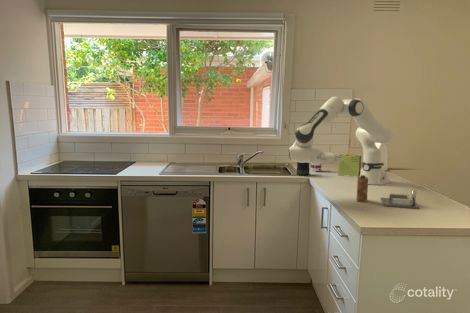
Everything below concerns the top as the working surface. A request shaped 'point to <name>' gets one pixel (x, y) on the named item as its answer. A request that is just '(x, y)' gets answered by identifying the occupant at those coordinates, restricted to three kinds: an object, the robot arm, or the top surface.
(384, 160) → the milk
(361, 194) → the walnut toggle block
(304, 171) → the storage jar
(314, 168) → the supplement can
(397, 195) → the keeper bracket
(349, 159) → the protein box
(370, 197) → the top surface
